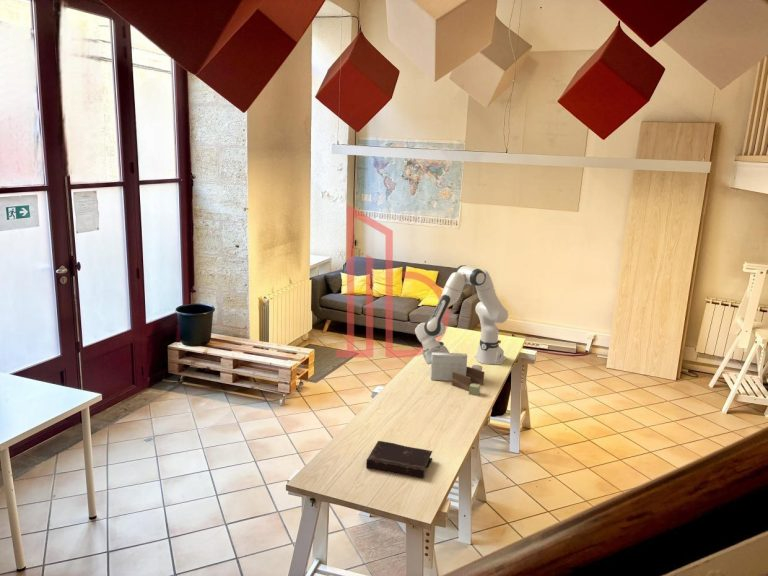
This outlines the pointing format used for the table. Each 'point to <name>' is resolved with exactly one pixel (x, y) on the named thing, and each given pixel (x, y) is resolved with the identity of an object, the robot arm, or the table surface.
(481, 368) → the grey rounded capsule
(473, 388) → the olive block
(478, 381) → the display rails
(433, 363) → the skincare box
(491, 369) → the table surface
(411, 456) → the diary
